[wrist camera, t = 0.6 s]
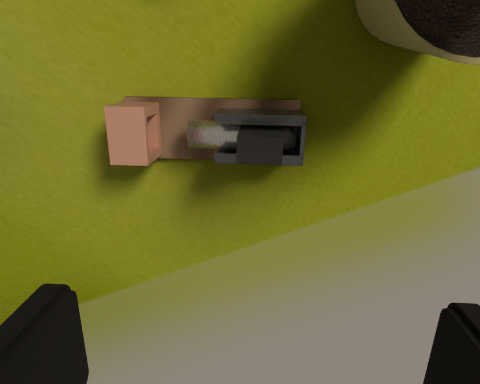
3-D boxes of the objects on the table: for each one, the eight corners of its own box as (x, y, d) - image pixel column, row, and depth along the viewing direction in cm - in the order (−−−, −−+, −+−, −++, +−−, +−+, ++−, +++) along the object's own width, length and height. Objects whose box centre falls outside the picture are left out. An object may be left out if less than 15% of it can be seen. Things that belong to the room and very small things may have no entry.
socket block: (158, 102, 40) (143, 107, 34) (161, 154, 42) (148, 165, 36) (124, 101, 40) (104, 106, 35) (128, 153, 42) (110, 164, 37)
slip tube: (293, 120, 38) (303, 134, 30) (292, 147, 39) (301, 169, 31) (191, 118, 39) (172, 131, 30) (192, 144, 40) (174, 165, 31)
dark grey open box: (300, 109, 39) (306, 115, 34) (297, 153, 41) (302, 165, 36) (220, 108, 40) (214, 113, 34) (220, 151, 41) (214, 163, 36)
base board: (300, 99, 40) (301, 100, 39) (295, 159, 42) (296, 161, 41) (126, 96, 41) (123, 96, 40) (132, 155, 43) (129, 157, 42)
